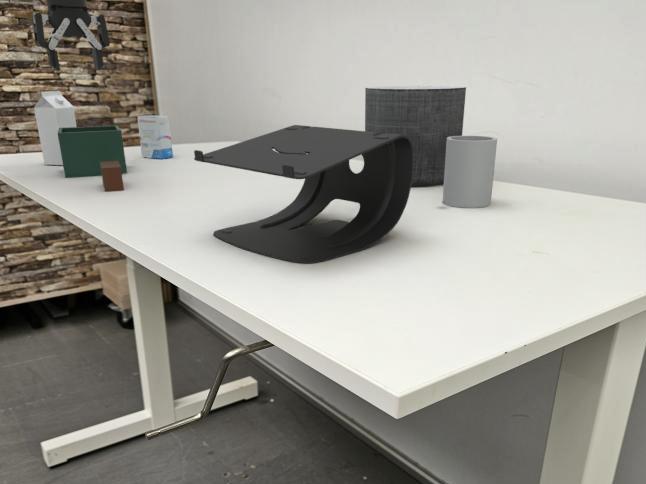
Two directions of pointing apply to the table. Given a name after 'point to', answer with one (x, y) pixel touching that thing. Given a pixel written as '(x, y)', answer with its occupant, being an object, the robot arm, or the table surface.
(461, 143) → the cup
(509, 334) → the table surface
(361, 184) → the laptop stand
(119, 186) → the brown rectangular block
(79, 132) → the bin
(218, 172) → the table surface
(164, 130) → the ink box
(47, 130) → the milk carton
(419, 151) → the planter
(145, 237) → the table surface
